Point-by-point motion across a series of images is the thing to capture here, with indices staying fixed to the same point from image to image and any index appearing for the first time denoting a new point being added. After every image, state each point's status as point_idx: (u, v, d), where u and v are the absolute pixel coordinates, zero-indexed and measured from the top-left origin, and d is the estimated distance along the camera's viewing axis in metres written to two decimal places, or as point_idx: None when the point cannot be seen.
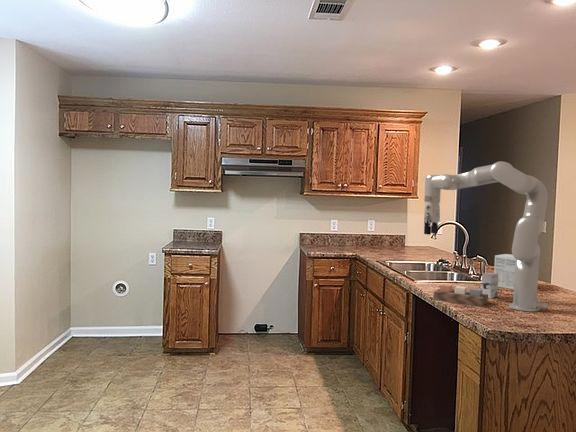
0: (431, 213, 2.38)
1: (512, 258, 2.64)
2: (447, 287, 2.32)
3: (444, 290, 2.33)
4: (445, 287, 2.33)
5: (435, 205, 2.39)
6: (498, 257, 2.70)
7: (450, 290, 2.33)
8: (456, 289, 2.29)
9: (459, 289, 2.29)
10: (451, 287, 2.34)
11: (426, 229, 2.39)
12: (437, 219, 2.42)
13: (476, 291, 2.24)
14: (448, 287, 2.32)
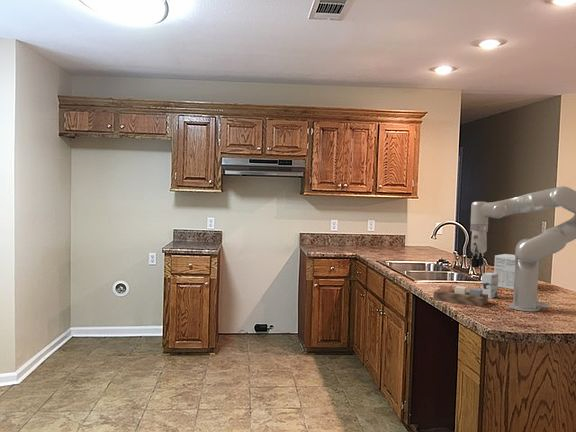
0: (479, 243, 2.20)
1: (512, 258, 2.64)
2: (447, 287, 2.32)
3: (444, 290, 2.33)
4: (445, 287, 2.33)
5: (483, 234, 2.22)
6: (498, 257, 2.70)
7: (450, 290, 2.33)
8: (456, 289, 2.29)
9: (459, 289, 2.29)
10: (451, 287, 2.34)
11: (474, 262, 2.22)
12: (484, 249, 2.24)
13: (476, 291, 2.24)
14: (448, 287, 2.32)
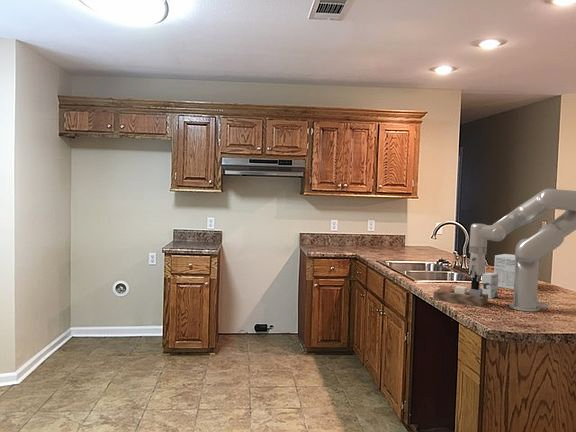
0: (477, 266, 2.21)
1: (512, 258, 2.64)
2: (447, 287, 2.32)
3: (444, 290, 2.33)
4: (445, 287, 2.33)
5: (481, 257, 2.22)
6: (498, 257, 2.70)
7: (450, 290, 2.33)
8: (456, 289, 2.29)
9: (459, 289, 2.29)
10: (451, 287, 2.34)
11: (474, 284, 2.25)
12: (482, 271, 2.25)
13: (476, 291, 2.24)
14: (448, 287, 2.32)
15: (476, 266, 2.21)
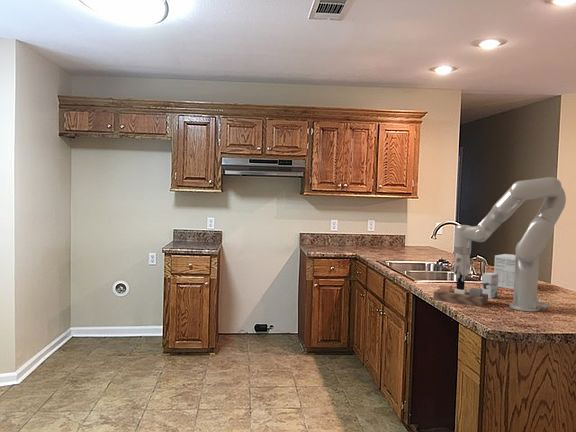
0: (462, 266, 2.25)
1: (512, 258, 2.64)
2: (447, 287, 2.32)
3: (444, 290, 2.33)
4: (445, 287, 2.33)
5: (466, 257, 2.26)
6: (498, 257, 2.70)
7: (450, 290, 2.33)
8: (456, 291, 2.30)
9: (459, 291, 2.29)
10: (451, 287, 2.34)
11: (459, 284, 2.29)
12: (467, 272, 2.29)
13: (476, 291, 2.24)
14: (448, 287, 2.32)
15: (461, 266, 2.25)
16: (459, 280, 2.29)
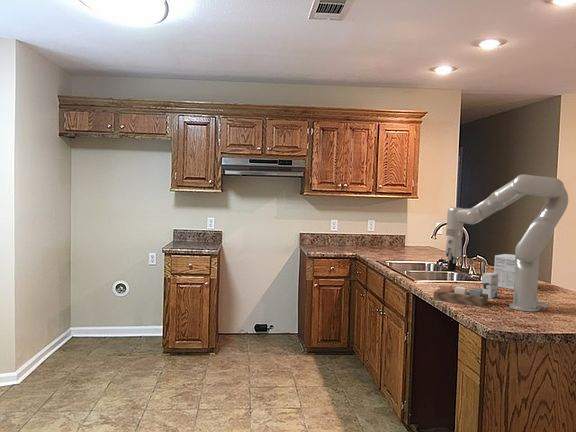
0: (453, 248, 2.27)
1: (512, 258, 2.64)
2: (447, 287, 2.32)
3: (444, 290, 2.33)
4: (445, 287, 2.33)
5: (457, 240, 2.28)
6: (498, 257, 2.70)
7: (450, 290, 2.33)
8: (456, 289, 2.30)
9: (459, 289, 2.29)
10: (451, 287, 2.34)
11: (450, 266, 2.32)
12: (459, 254, 2.31)
13: (476, 291, 2.24)
14: (448, 287, 2.32)
15: (452, 248, 2.27)
16: (450, 262, 2.31)
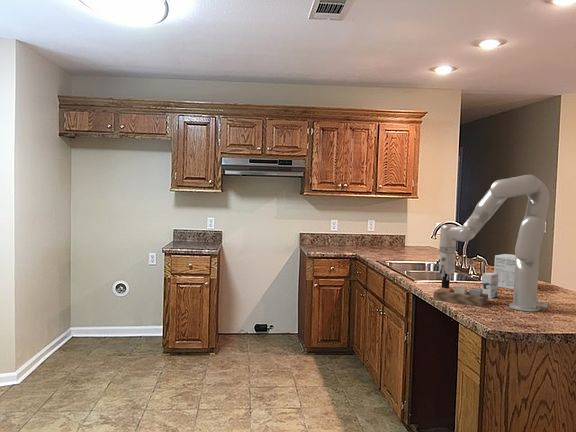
0: (446, 265, 2.29)
1: (512, 258, 2.64)
2: (447, 290, 2.32)
3: None
4: (445, 290, 2.33)
5: (450, 257, 2.30)
6: (498, 257, 2.70)
7: None
8: (456, 289, 2.30)
9: (459, 289, 2.29)
10: (451, 290, 2.34)
11: (444, 283, 2.34)
12: (452, 271, 2.33)
13: (476, 291, 2.24)
14: (448, 290, 2.32)
15: (445, 266, 2.29)
16: (444, 279, 2.33)
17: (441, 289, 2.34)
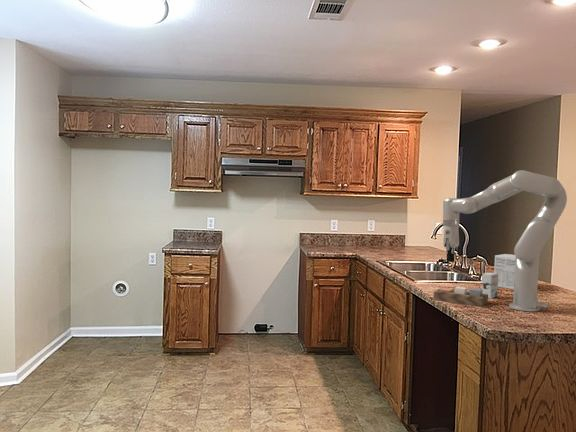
0: (451, 238, 2.29)
1: (512, 258, 2.64)
2: (447, 291, 2.32)
3: None
4: (445, 291, 2.33)
5: (454, 230, 2.30)
6: (498, 257, 2.70)
7: None
8: (456, 289, 2.30)
9: (459, 289, 2.29)
10: (451, 291, 2.34)
11: (449, 256, 2.33)
12: (457, 244, 2.33)
13: (476, 291, 2.24)
14: (448, 291, 2.32)
15: (450, 238, 2.29)
16: (449, 252, 2.33)
17: (441, 290, 2.34)
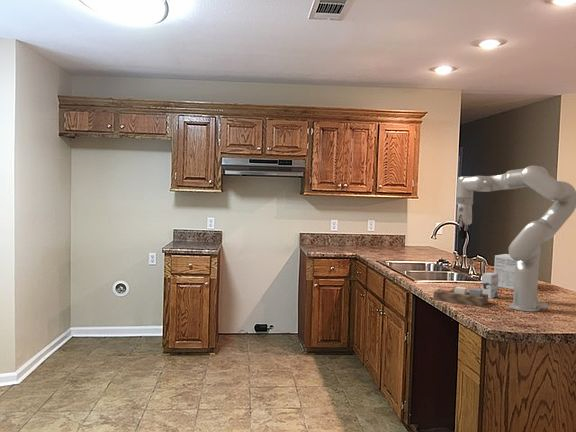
0: (464, 215, 2.34)
1: None
2: (447, 291, 2.32)
3: None
4: (445, 291, 2.33)
5: (468, 207, 2.35)
6: (498, 257, 2.70)
7: None
8: (456, 289, 2.30)
9: (459, 289, 2.29)
10: (451, 291, 2.34)
11: (461, 233, 2.38)
12: (470, 221, 2.38)
13: (476, 291, 2.24)
14: (448, 291, 2.32)
15: (463, 215, 2.34)
16: (462, 229, 2.37)
17: (441, 290, 2.34)
